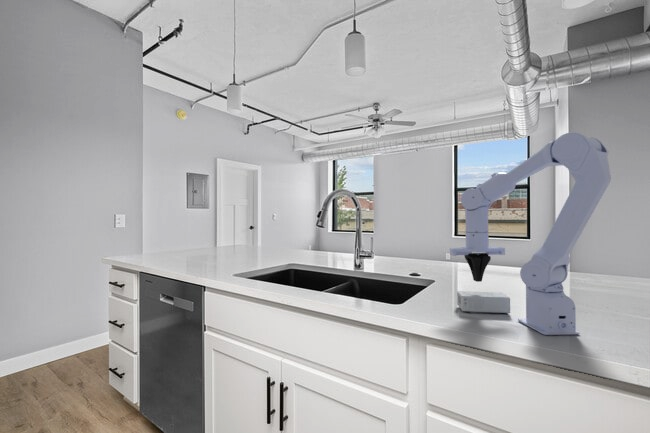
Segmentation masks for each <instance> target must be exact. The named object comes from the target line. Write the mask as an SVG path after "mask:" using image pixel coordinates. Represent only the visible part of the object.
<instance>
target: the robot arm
mask: <svg viewBox="0 0 650 433" xmlns="http://www.w3.org/2000/svg"><path fill="white" fill-rule="evenodd" d="M608 156H609V150H608V149H607V147H606V146H605V145H604V144H603V143H602V141H601V140H599V139H598V138H596V137H592V136H587V135H585V134H582V133H580V132H567V133H564V134H562V135H560V136H559V137H558V138H556V140H551V141H549V142H547V144H546V145H544V146H543V147H542V148H541V149H540V150H538V151H536V152H535V153H534V154H533V155H532V156H529V158H527V159H525V160H524V161H522V162H521V163H520V164H518V165H517V166H515V167H514V168H513V169H511V170H509V171H508V172H502V171H500V172H494V173H492V174H491V175H490V176H491V177H490V178H489V179H487V180H485V181H484V182H482V183H478V184H477V185H476V188H467V189H466V190H464V192H463V193H462V194H461V198H460V203H461V205H462V207H463V208H464V209H465V210H464V213H465V217H464V218H465V247H449V255H450V256H455V257H456V256H464V259H465V261H466V263H467V264H468V266H469V269H470V271H471V274H472V279H473V281H475V282H477V283H479V282H482V281H483V278H484V277H483V276H484V273H485V270H486V268H487V267H488V265H489V263H490V262H491V255H492V256H493V255H500V256H503V255H504V256H505V255H506V248H505V247H501V246H496V247H495V246H489V245H490V244H489V240H490V239H489V238H490V237H489V212H490V210H489V209H490V208H491V207H492V204H493V203H495V202H496V201H497V200H499V199H501V198H503V197H505V196H506V195H508V194H510V193H511V192H513V191H515V189H516V186H517V184H518V183H519V182H522V181H524V180H526V179H527V178H529V177H531V176H533V175H534V174H537V173H538V172H540V171H543V170H544V169H547V168H548V167H561V166H564V167H565V168H567V170H568V172H569V173H570V175H571V176H572V178H573V179H574V181H575V183H574V185H573V186H572V189H571V190H570V192H569V195H568V197H567V198H566V200H565V201H564V204H563V206H562V208H561V210H560V212H559V214H558V215H557V218H556V219H555V222H554V223H553V226H552V227H551V229H550V231H549V233H548V234H547V236H546V238H545V241H544V243H543V245H542V246H541V247H540V248H539V249H538V250H536V252H534V254H532V257H531V258H530V260H528V261H527V262H526V263H524V264H523V265H522V266H521V268H520V273H519V275H520V279H521V281H522V282H523V283H524V285H525V318H517V321H518V322H520V323H522V324H523V325H525V326H527V327H529V328H531V329H533V330H534V331H537V332H538V333H540V334H542V335H544V336H545V335H546V336H553V335H554V336H555V335H580V334H581V333H580V331H579V330H576V329H577V328H576V326H577V325H576V323H577V322H576V315H577V314H576V304H575V302H574V300H573V299H572V298H571V297H570V296H567V295H566V294H565V291H564V286H563V283H564V282H565V281H566V279H567V277H568V275H569V273H568V267H569V265H570V263H571V257H570V254H571V252H572V250H573V249H574V247H575V245H576V244H577V241H578V240H579V238H580V236H581V235H582V233H583V231H584V229H585V227H586V225H587V224H588V222H589V220H590V218H591V217H592V215H593V213H594V212H595V210H596V208H597V206H598V205H599V203H600V201H601V199H602V197H603V196H604V194H605V192H606V190H607V188H608V187H609V185H610V183H611V178H612V176H611V171H610V170H611V169H610V165H609V159H608Z"/></svg>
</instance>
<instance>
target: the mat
mask: <svg viewBox="0 0 650 433" xmlns="http://www.w3.org/2000/svg"><path fill="white" fill-rule="evenodd" d="M467 312H468V313H469V314H493V313H496V312H471V311H467Z"/></svg>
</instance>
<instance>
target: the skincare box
mask: <svg viewBox="0 0 650 433" xmlns="http://www.w3.org/2000/svg"><path fill="white" fill-rule="evenodd" d="M456 304H457V306H458V307H459V308H460V309H461V311H462V312H468V311H471V312H496V313H498V314H500V313H501V314H502V313H504V314H510V313H511V298H510V297H509V296H508V295H507V294H505V293H503V292H501V291H472V290H471V291H469V290H468V291H467V290H457V291H456Z"/></svg>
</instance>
